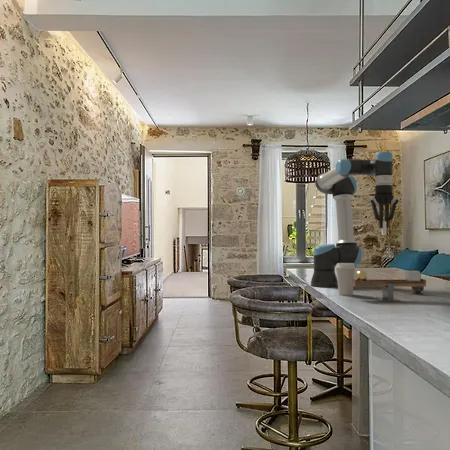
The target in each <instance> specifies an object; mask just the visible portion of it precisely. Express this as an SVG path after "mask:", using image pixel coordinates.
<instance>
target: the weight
mask: <svg viewBox="0 0 450 450" xmlns="http://www.w3.org/2000/svg"><path fill="white" fill-rule="evenodd" d="M367 273H368V271H366V270H365V271H364V270H359V271H358V270H357V271H356V280H357V281H367V280H368V275H367Z"/></svg>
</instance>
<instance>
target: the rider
mask: <svg viewBox="0 0 450 450" xmlns="http://www.w3.org/2000/svg"><path fill="white" fill-rule="evenodd" d="M420 273H421V271H420V270H418V271H417V270H404V280H405V281H420Z"/></svg>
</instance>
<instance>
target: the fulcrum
mask: <svg viewBox="0 0 450 450" xmlns="http://www.w3.org/2000/svg"><path fill="white" fill-rule="evenodd" d="M394 289H395V286H394V283H388V286H381V290H382V291H381V292H382V294H381V296H375V299H376V300H377V301H379V302H380V303H401V299H399V298H397V297H395V296H394Z"/></svg>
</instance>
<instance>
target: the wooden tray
mask: <svg viewBox="0 0 450 450" xmlns="http://www.w3.org/2000/svg"><path fill="white" fill-rule="evenodd" d="M388 283H394V287H411V286H423V287H427V279H424V278H420V281H405V279H367V281H357V279H355V278H354V279H353V278H351V285H353V287H382V286H388Z"/></svg>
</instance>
